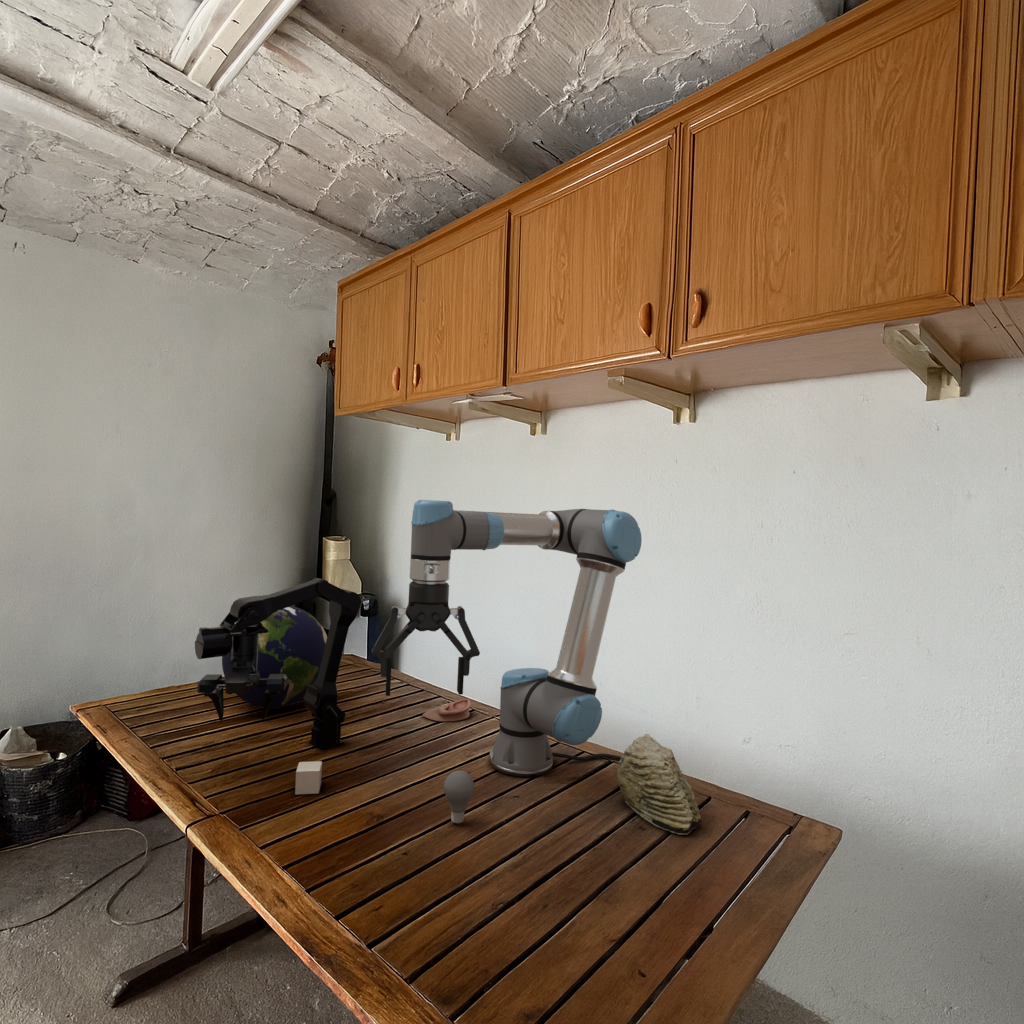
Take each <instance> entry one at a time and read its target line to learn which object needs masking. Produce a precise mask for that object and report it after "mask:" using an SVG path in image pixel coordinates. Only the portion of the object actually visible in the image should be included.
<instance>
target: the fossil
mask: <svg viewBox="0 0 1024 1024" xmlns="http://www.w3.org/2000/svg"><path fill="white" fill-rule="evenodd" d="M620 756H621V758H622V759H620V760H618V767H617V768H618V769H617V773H616V777H617V780H616V783H617V784H618V786H619V790H620V791H621V793H622V796H623V797H624V799H625V801H624V803H626V805H627V806H628V807H629V808H630V809H631V810H633V812H634V813H636V814H637V815H639V816H640V817H641V818H643V819H644V820H645V821H646V822H648V823H649V824H651V825H653V826H655V827H656V828H659V829H662V830H664V831H668V832H670V833H672V834H676V835H682V836H684V835H686V836H687V835H688V834H690V833H691V832H692V831H693V830H694V829H696V828H697V827H698V826H699V825H700V824H701V823H702V817H701V815H700V809H699V807H698V802H697V800H696V797H695V793H694V791H693V789H692V786H691V785H690V784H689V782H688V780H687V778H686V775H685V774H684V773H683V771H682V770H681V767H680V765H679V763H678V761H677V760H676V757H675V755H674V752H673V750H672V749H671V748H670V747H669V748H668V747H666V746H663V745H662V744H660V743H659V742H658V741H657V740H656V739H655V738H653V736H651V735H650V734H649V733H645V734H644V735H642V736H638V737H637V738H635V739H634V740H633V741H632V743H631V744H630V745H628V747H627V748H625V750H624V751H623V754H622V755H620Z"/></svg>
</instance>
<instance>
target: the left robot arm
mask: <svg viewBox="0 0 1024 1024" xmlns="http://www.w3.org/2000/svg"><path fill="white" fill-rule="evenodd" d="M318 597H320V598H322V600H325V601H326V602H328V603H329V604H328V615H329V620H330V621H329V622H330V624H329V627H328V628H329V629H328V632H327V640H326V644H325V648H324V652H323V657H322V661H321V665H320V669H319V673H318V677H317V679H316V680H315V681H314V683H313V684H307V686H306V693H305V696H304V697H303V700H304V707H305V709H306V710H307V711H308V712H310V715H311V717H312V718H314V719H313V721H312V722H313V723H312V727H311V730H310V731H311V732H310V733H311V735H310V739H309V740H308V743H309V744H310V745H313V746H314V747H316V748H318V749H320V750H327V749H329V748H333V747H336V746H340V745H343V744H344V743H345V741H344V740H343V739H341V737H342V735H341V733H342V723H344V721H345V719H346V715H347V714H346V712H344V711H343V710H342V709H341V708H340V707H339V706H338V702H339V701H338V698H339V692H338V686H337V679H338V675H339V671H340V666H341V662H342V658H343V655H344V650H345V645H346V642H347V637H348V634H349V630H350V626H351V625H352V624H353V623H354V621H355V620H356V618H357V617H358V614H359V612H360V610H361V607H362V603H363V601H362V600H363V599H362V598H361V595H359V594H358V592H355V591H352V590H348V589H345V588H340V587H338V586H336V585H334V584H332V583H331V582H329V581H328V580H327V579H323V578H319V577H314V578H313V579H311V580H309V581H306V582H305V581H304V582H303V583H300V584H296V585H294V586H291V587H288V588H284V589H282V590H279V591H276V592H272V593H270V594H265V595H264V594H263V595H252V596H246V597H240V598H237V599H235V600H234V601H233V602H232V604H231V605H230V609H229V612H228V613H227V614H226V616H225V618H223V620H222V621H221V622H220V624H219V626H212V627H199V629H198V633H197V635H196V637H195V638H196V639H195V641H194V651H195V652H194V653H195V656H196V658H197V659H198V660H204V659H212V658H220V657H221V658H222V656H226V655H227V654H228V653H230V651H231V649H232V658H231V664H230V669H229V671H228V674H227V677H226V679H225V678H223V674H213V673H212V674H211V673H210V674H207V673H206V674H205V675H204V676H203V677H201V679H200V680H199V681H198V682H197V689H196V690H197V694H203V696H204V697H208V698H209V699H210V700H211V701H212V704H213V705H214V708H215V711H216V714H217V716H218V719H219V721H223V720H224V712H225V710H224V709H225V708H224V707H225V706H224V691H225V694H226V695H233V694H234V695H236V694H238V693H240V694H246V693H248V692H249V688H252V687H266V689H267V691H266V692H265V694H264V705H263V708H262V712H261V721H264V720H265V719H266V715H267V713H268V711H269V709H270V708H269V705H270V703H271V700H272V698H273V696H274V695H278V694H279V692H283V691H284V690H285V688H286V686H287V682H288V677H287V675H286V674H270V675H269V677H268V678H260V675H259V671H258V644H259V634H260V633H267V632H268V629H266V628H265V627H264V626H263V625H262V623H260V622H262V621H263V620H265V619H267V618H268V617H269V616H271V615H272V614H273V613H275V612H276V611H278V610H281V609H284V608H287V607H290V606H295V605H297V604H301V603H304V602H306V601H310V600H313V599H315V598H318ZM224 689H225V690H224Z"/></svg>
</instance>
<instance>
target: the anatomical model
mask: <svg viewBox="0 0 1024 1024" xmlns="http://www.w3.org/2000/svg"><path fill="white" fill-rule="evenodd" d="M470 708H471V700H470V699H468V698H464V699H459V700H456V701H452V702H450V703H447V704H444V705H441V706H438V707H434V708H431V709H428V710H427V711H425V712H424V713H422V717H423V718H426V719H428V720H431V721H435V722H455V721H456V722H457V721H461V720H462V721H463V720H466V719H468V718H469V717H470V715H471V714H470V711H469V710H470Z"/></svg>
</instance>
